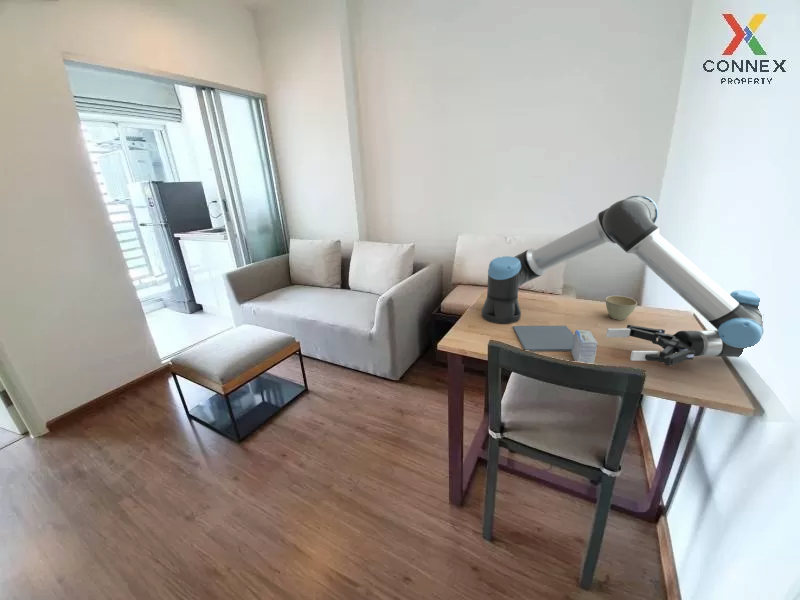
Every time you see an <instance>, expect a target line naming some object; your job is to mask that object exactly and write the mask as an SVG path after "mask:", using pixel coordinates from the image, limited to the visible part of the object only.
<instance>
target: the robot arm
mask: <svg viewBox="0 0 800 600" xmlns="http://www.w3.org/2000/svg"><path fill="white" fill-rule="evenodd" d="M658 215H659V208H658V206H657V204H656V202H655V201H654V200H653V199H652V198H650V197H648V196H645V195H632V196H628V197H626V198H625V199H622V200H619V201H616V202H614V203H613V204H611V205H610V206H609V207H607V208H606V209H603V210H602V211H600V212H598V214H597V215H596V219H594V220H592V221H590V222H588V223H586V224H584V225H582V226H580V227H578V228H577V229H574V230H573V231H570V232H569V233H567V234H565V235H562V236H561V237H559V238H557V239H555V240H553V241H551V242H549V243H547V244H545V245H543V246H540V247H539V248H537V249H534V248H529V249H526V250H524V251H522V252H520V253H519V254H516V255H514V256H507V255H506V256H505V255H504V256H501V257H500V256H499V257H495V258H493V259H492V260H490V262H489V265H488V270H487V291H486V292H487V293H486V299H485V301H484V304H483V306H482V307H481V316H482V318H483V319H484V320H486V321H487V322H490V323H493V324H500V325H501V324H502V325H507V324H508V325H509V324H514V323H517V322H518V321H520V319H521V316H522V315H521V313H522V311H521V308H520V303H519V300H518V296H519V287H520V286H522V285H524V284H526V283H527V282H529V281H532V280H534V279H537V278H539V277H541V276H543V275H545V273H546V271H547V269H550V268H553V267H555V266H557V265H559V264H561V263H563V262H566V261H568V260H570V259H572V258H574V257H576V256H580V255H581V254H583V253H586V252H588V251H591V250H592V249H595V248H597V247H600V246H602V245H604V244H607V243H611V244H616V245H617V246H618V247H620V248H621V249H622V250H623V252H625V253H627V254H633V255H635V256H636V257H637V258H638V259H639V260H640V261H641V262H642V263H644V265H646V266H647V267H648V268H649V269H650V270H651V271H652V272H653V273H654V274H655V275H656V276H658V277H659V279H661V280H662V281H663V282H664V283H666V284H667V285H668V286H669V287H670V288H671V289H672V290H673V291H675V293H676V294H677V295H679V297H681V298H682V299H683V300H684V301H686V302H687V304H688V305H690V306H691V307H692V308H693V309H694V310H695V311H696V312H697V313H699V315H700V316H702V317H703V318H704V319H705V321H707V322H708V323H710V324H711V325H712V326H713V327H714V328H715V329H716V330H679V331H677V332H676V333H674V334H669V333H666V330H665V329H661V328H651V327H645V326H639V325H633V324H627V325H626V328H607V329H606V335H605V336H606V338H630V337H633V338H637V339H640V340H641V339H642V340H645V341H648V342H652V344H654V345H658V346H660V347H661V348H662V349H663V350H660V351H658V350H631V352H630V353H631V354H630V357H629V359H630V361H633V362H634V361H638V362H639V361H648V362H659V363H662V364H664V366H666V367H670V366H674V365H676V364H679V363H681V362H683V361H690V360H693V359H694V357H726V358H727V357H728V358H730V357H733V358H740V357H739V356H740V355H741V354H742V352H743V349H744V348H747V347H751V346H754V345H755V344H757V343H758V342H759V341H760V339H761V338H762V336H763V335H764V327H763V325H764V324H763V323H764V320H763V321H762V315H761V313H760V311H759V309H758V306H759V302H760V298H759V297H758V296H757V295H756V294H755V293H753V292H754V291H753V292H752V290H745V289H744V290H743V289H740V290H738V289H737V290H733V291H732V292H730V294H729V293H728V292H727V291H726V290H725V289H724V288H722V286H720V285H719V284H718V283H716V282H715V281H714V280H713V279H712V278H711V277H709V276H708V275H707V274H706V273H705V272H704V271H702V269H700V268H699V267H698V266H697V265H696V264H694V263H693V261H691V260H690V259H688V257H686V256H685V255H684V254H683V253H682V252H680V251H679V250H678V249H677V248H676V247H675V246H674V245H673V244H671V243H670V242H669V241H668V240H666V238H664V237H663V236H662V235H661V234H660V227H658V226H657V225H656V224H655V223H656V221H657V219H658Z"/></svg>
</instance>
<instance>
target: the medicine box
mask: <svg viewBox="0 0 800 600" xmlns="http://www.w3.org/2000/svg"><path fill="white" fill-rule="evenodd" d="M592 333H593V332H591V330H583V329H581V330H580V329H576V330H574V333H573V334H574V341H573V346H572V351H571V355H572V358H573V360H574V362H575V361H579V362H585V363H594V364H595V360H596V354H597V348H598V342H597V339H596V338H595V336H594V335H593V334H592Z"/></svg>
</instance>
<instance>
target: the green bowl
mask: <svg viewBox="0 0 800 600" xmlns="http://www.w3.org/2000/svg"><path fill="white" fill-rule="evenodd" d="M637 305H638V301H636V300H635V299H634V298H632V297H629V296H624V295H610V296H606V298H605V307H606V310H607V312H608V316H609V317H610V318H611V319H613V320H618V321H623V320H626V319H628V317H629V316H630V315H631V314H632V313H633V312H634V310H635V309H636V307H637Z"/></svg>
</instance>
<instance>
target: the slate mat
mask: <svg viewBox="0 0 800 600" xmlns="http://www.w3.org/2000/svg"><path fill="white" fill-rule="evenodd" d="M512 328H513V331H514V332H515V334H516V336H517V338H518V340H519V342H520V344H521V346H522V348H523V350H524V349H525V350H529V351H528V352H572V346H573V341H574V334H575V333H573V332H572V331H571V330H570V329H569V327H568V326H567V325H513V326H512ZM525 350H524V351H525Z"/></svg>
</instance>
